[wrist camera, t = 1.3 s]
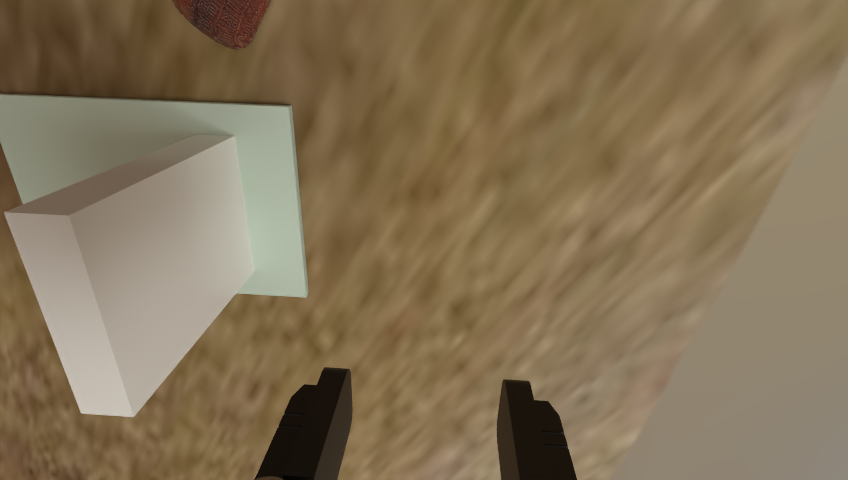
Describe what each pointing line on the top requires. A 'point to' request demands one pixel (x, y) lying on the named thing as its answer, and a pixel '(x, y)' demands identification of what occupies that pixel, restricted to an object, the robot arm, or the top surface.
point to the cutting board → (155, 129)
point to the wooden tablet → (225, 19)
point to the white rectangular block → (136, 266)
